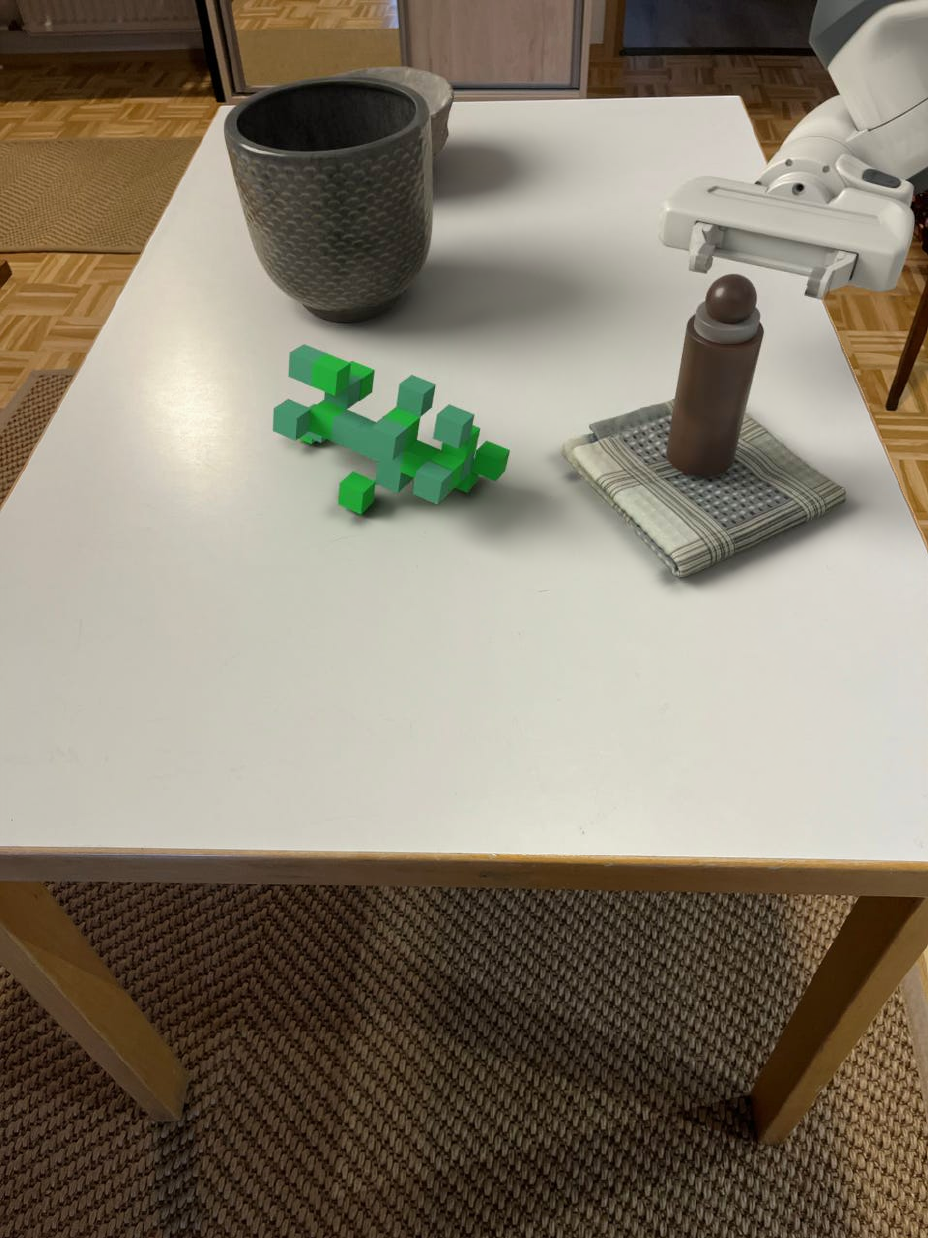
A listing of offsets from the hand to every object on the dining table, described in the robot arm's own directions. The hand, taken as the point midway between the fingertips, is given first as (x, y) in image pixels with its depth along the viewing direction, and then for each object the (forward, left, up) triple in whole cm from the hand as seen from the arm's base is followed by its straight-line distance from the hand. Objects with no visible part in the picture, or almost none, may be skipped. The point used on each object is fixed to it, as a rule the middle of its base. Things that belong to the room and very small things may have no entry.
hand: (755, 276), depth 73 cm
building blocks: (+28, +13, -15) cm, 34 cm away
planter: (+41, -16, -15) cm, 46 cm away
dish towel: (+2, +8, -15) cm, 17 cm away
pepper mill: (+2, +8, -12) cm, 14 cm away
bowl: (+47, -46, -15) cm, 67 cm away
